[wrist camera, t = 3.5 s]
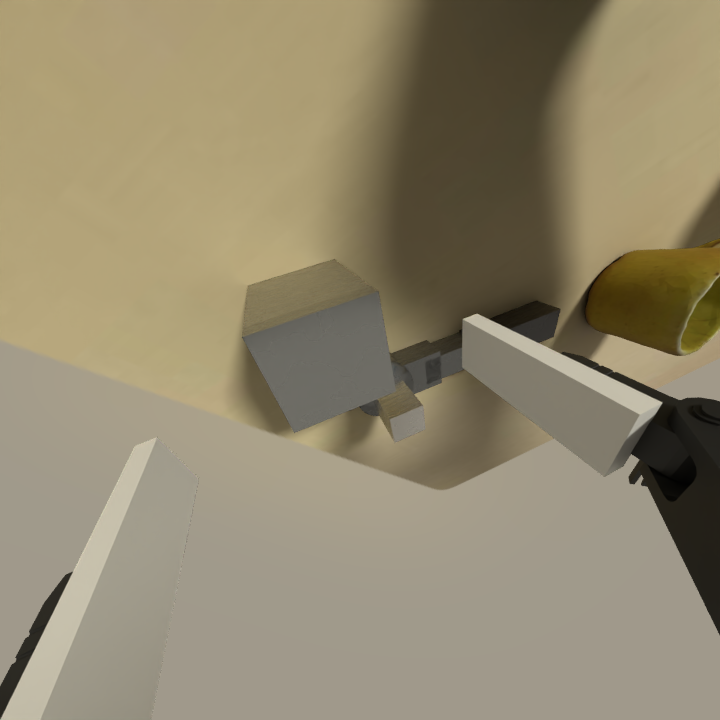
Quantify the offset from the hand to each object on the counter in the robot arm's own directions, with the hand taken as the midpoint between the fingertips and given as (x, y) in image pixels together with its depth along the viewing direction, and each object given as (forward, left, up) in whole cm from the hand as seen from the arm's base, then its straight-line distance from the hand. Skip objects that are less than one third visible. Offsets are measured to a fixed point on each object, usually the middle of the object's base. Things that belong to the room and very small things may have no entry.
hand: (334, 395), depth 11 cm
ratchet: (+8, +12, -10) cm, 17 cm away
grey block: (0, 0, -10) cm, 10 cm away
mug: (+8, +35, -10) cm, 37 cm away
